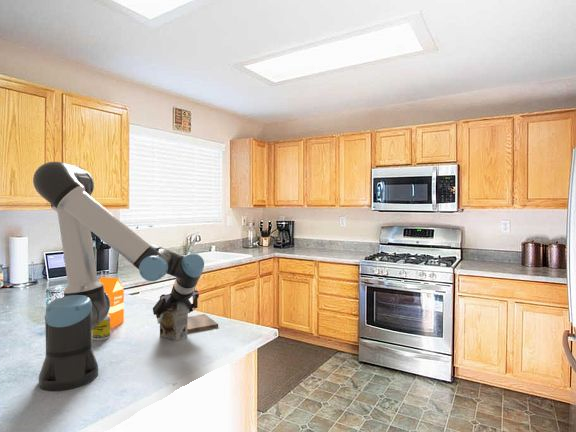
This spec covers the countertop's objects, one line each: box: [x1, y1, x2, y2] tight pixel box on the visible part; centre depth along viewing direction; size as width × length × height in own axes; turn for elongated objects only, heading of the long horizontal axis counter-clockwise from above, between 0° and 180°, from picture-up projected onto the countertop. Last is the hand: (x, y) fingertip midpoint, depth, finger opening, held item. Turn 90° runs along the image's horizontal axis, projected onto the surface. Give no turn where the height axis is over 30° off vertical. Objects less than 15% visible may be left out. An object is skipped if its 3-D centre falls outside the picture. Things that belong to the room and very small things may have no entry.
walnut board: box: [187, 313, 219, 334], centre depth 156 cm, size 16×16×2 cm
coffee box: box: [159, 293, 189, 342], centre depth 142 cm, size 9×6×16 cm
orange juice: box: [98, 276, 125, 328], centre depth 157 cm, size 8×9×20 cm
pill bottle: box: [92, 314, 111, 341], centre depth 140 cm, size 6×6×11 cm
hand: (171, 318), depth 145 cm, fingers closed on coffee box, 9 cm apart
